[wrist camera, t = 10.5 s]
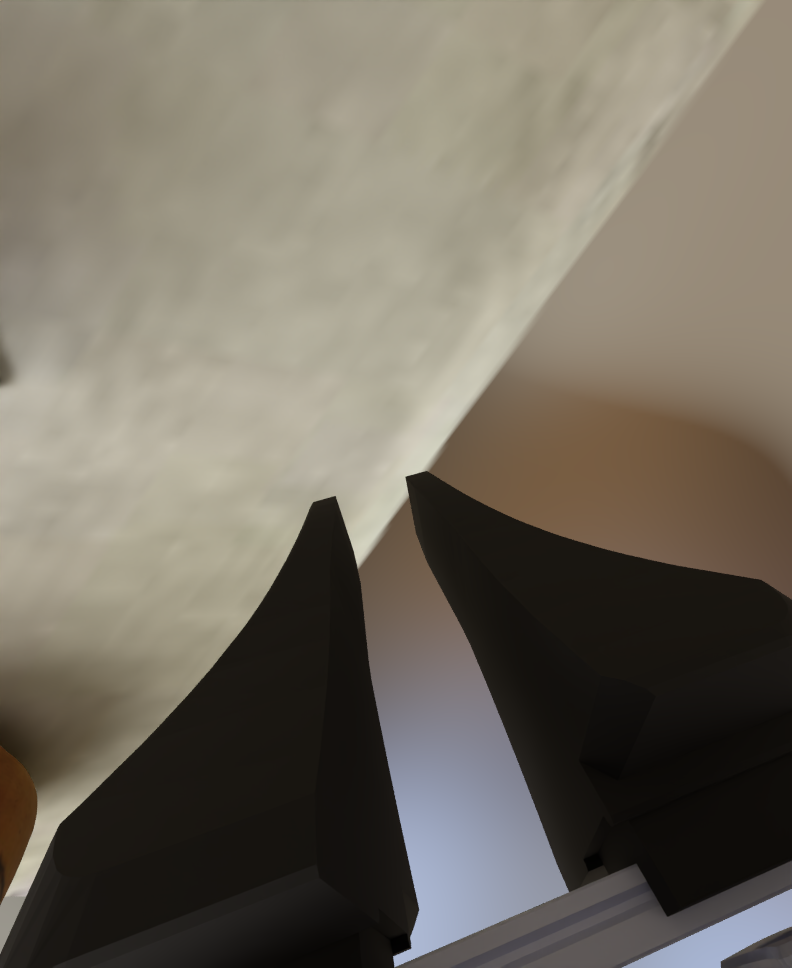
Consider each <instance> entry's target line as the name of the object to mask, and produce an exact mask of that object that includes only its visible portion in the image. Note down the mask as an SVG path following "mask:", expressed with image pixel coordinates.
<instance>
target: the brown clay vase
mask: <svg viewBox="0 0 792 968" xmlns="http://www.w3.org/2000/svg"><path fill="white" fill-rule="evenodd" d="M36 815H37V793H36V789H35V786H34V783H33V781H32V779H31V777H30V775H29V774H28V772H27V770H26V769H25V767H24V766H23V765H22V764H21V763H20V762H19V761H18V760H17V759H16V758H15V757H14V756H12V755H11V754H10V753H8V752H7V751H6V750H5V749H4V748H2V747H1V746H0V905H1V902H2V900H3V898H4V896H5V894H6V892H7V890H8V888H9V886H10V884H11V882H12V880H13V878H14V876H15V873H16V871H17V869H18V867H19V864H20V862H21V860H22V857H23V855H24V852H25V850H26V847H27V844H28V842H29V839H30V837H31V834H32V832H33V829H34V824H35V820H36Z"/></svg>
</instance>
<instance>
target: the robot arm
mask: <svg viewBox="0 0 792 968" xmlns="http://www.w3.org/2000/svg"><path fill="white" fill-rule="evenodd" d="M406 482H407V487H408V493H409V498H410V503H411V509H412V514H413V520H414V525H415V530H416V534H417V537H418V539H419V542H420V545H421V548H422V550H423V553H424V555H425V558H426V560H427V563H428V564H429V567H430V568H431V570H432V572H433V574H434V576H435V578H436V580H437V582H438V584H439V585H440V587H441V589H442V591H443V593H444V595H445V596H446V598H447V600H448V602H449V604H450V606H451V608H452V610H453V612H454V613H455V615H456V617H457V619H458V621H459V623H460V625H461V627H462V628H463V630H464V633H465V635H466V637H467V639H468V641H469V643H470V645H471V647H472V650H473V652H474V654H475V657H476V659H477V662H478V664H479V666H480V669H481V671H482V673H483V676H484V678H485V681H486V683H487V686H488V688H489V691H490V693H491V695H492V698H493V700H494V703H495V705H496V708H497V710H498V713H499V715H500V718H501V720H502V722H503V725H504V727H505V730H506V733H507V735H508V738H509V740H510V743H511V745H512V748H513V750H514V753H515V755H516V758H517V760H518V763H519V765H520V768H521V771H522V773H523V776H524V778H525V781H526V783H527V786H528V789H529V791H530V794H531V796H532V799H533V801H534V804H535V807H536V810H537V812H538V815H539V817H540V820H541V823H542V825H543V828H544V831H545V833H546V836H547V838H548V841H549V844H550V846H551V849H552V852H553V855H554V857H555V860H556V863H557V865H558V867H559V870H560V872H561V874H562V877H563V879H564V881H565V883H566V886H567V888H568V890H569V893H567V894H564V895H562V896H560V897H557V898H555V899H553V900H551V901H548V902H546V903H543V904H541V905H539V906H536V907H534V908H532V909H529V910H527V911H525V912H522V913H520V914H518V915H515V916H513V917H511V918H508V919H506V920H504V921H501V922H499V923H497V924H495V925H492V926H490V927H488V928H485V929H483V930H481V931H479V932H476V933H474V934H471V935H469V936H467V937H464V938H462V939H460V940H457V941H455V942H453V943H450V944H448V945H446V946H443V947H441V948H439V949H436V950H434V951H432V952H429V953H427V954H425V955H422V956H420V957H418V958H415V959H413V960H411V961H408V962H406V963H404V964H401V965H399V966H397V967H395V968H622V967H624V966H626V965H628V964H630V963H632V962H634V961H637V960H639V959H641V958H643V957H645V956H647V955H650V954H652V953H654V952H656V951H658V950H660V949H663V948H665V947H667V946H669V945H671V944H673V943H675V942H678V941H680V940H682V939H684V938H686V937H688V936H691V935H693V934H695V933H697V932H699V931H701V930H703V929H706V928H708V927H710V926H712V925H714V924H716V923H719V922H721V921H723V920H725V919H727V918H729V917H731V916H734V915H736V914H738V913H740V912H742V911H744V910H747V909H749V908H751V907H753V906H755V905H757V904H759V903H762V902H764V901H766V900H768V899H770V898H773V897H775V896H777V895H779V894H781V893H783V892H785V891H788V890H790V889H792V600H791V599H790V598H788V597H787V596H785V595H784V594H782V593H781V592H779V591H777V590H776V589H775V588H773V587H771V586H770V585H768V584H767V583H765V582H763V581H762V580H759V579H752V578H747V577H741V576H734V575H729V574H722V573H717V572H711V571H705V570H699V569H693V568H687V567H682V566H676V565H671V564H666V563H662V562H657V561H652V560H648V559H643V558H639V557H634V556H630V555H625V554H622V553H618V552H614V551H610V550H606V549H602V548H599V547H595V546H592V545H588V544H585V543H581V542H578V541H574V540H572V539H568V538H565V537H562V536H559V535H556V534H553V533H550V532H548V531H544V530H542V529H540V528H537V527H534V526H531V525H529V524H526V523H524V522H521V521H519V520H516V519H514V518H512V517H510V516H507V515H505V514H503V513H501V512H499V511H497V510H495V509H492V508H490V507H488V506H486V505H484V504H482V503H480V502H479V501H476V500H475V499H473V498H471V497H469V496H467V495H466V494H463V493H462V492H460V491H459V490H457V489H455V488H454V487H452V486H450V485H449V484H447V483H445V482H444V481H442V480H440V479H439V478H437V477H436V476H434V475H432V474H431V473H429V472H427V471H425V472H421V473H418V474H414V475H410V476H407V477H406ZM418 911H419V907H418V902H417V898H416V893H415V888H414V884H413V879H412V875H411V870H410V865H409V861H408V856H407V851H406V847H405V843H404V837H403V833H402V828H401V823H400V819H399V814H398V809H397V805H396V800H395V795H394V790H393V786H392V781H391V776H390V771H389V766H388V761H387V756H386V751H385V747H384V742H383V736H382V731H381V726H380V722H379V716H378V711H377V706H376V701H375V697H374V691H373V686H372V681H371V674H370V667H369V661H368V651H367V642H366V632H365V621H364V611H363V602H362V593H361V583H360V578H359V573H358V569H357V564H356V560H355V555H354V551H353V548H352V545H351V542H350V539H349V536H348V533H347V530H346V527H345V524H344V520H343V517H342V514H341V511H340V508H339V505H338V502H337V499H336V496H334V497H330V498H327V499H323V500H319V501H316V502H313V504H312V505H311V507H310V509H309V512H308V514H307V517H306V519H305V522H304V524H303V526H302V529H301V531H300V533H299V535H298V537H297V540H296V542H295V544H294V546H293V548H292V550H291V552H290V554H289V556H288V558H287V560H286V562H285V563H284V565H283V567H282V569H281V570H280V572H279V574H278V576H277V577H276V579H275V581H274V583H273V584H272V586H271V588H270V589H269V591H268V593H267V594H266V596H265V597H264V599H263V601H262V602H261V604H260V605H259V607H258V608H257V610H256V611H255V612H254V614H253V615H252V617H251V618H250V620H249V621H248V623H247V624H246V625H245V627H244V628H243V629H242V631H241V632H240V633H239V634H238V636H237V637H236V638H235V639H234V641H233V642H232V643H231V644H230V646H229V647H228V648H227V649H226V651H225V652H224V653H223V654H222V656H221V657H220V658H219V659H218V661H217V662H216V663H215V664H214V666H213V667H212V668H211V669H210V671H209V672H208V673H207V674H206V675H205V676H204V678H203V679H202V680H201V681H200V682H199V683H198V684H197V685H196V687H195V688H194V689H193V690H192V691H191V692H190V693H189V694H188V696H187V697H186V698H185V699H184V700H183V701H182V702H181V703H180V704H179V705H178V707H177V708H176V709H175V710H174V711H173V712H172V713H171V714H170V715H169V716H168V717H167V718H166V719H165V721H164V722H163V723H162V724H161V725H160V726H159V727H158V728H157V729H156V730H155V731H154V732H153V733H152V734H151V735H150V736H149V737H148V738H147V739H146V740H145V741H144V742H143V744H142V745H141V746H140V747H139V748H137V749H136V750H135V751H134V752H133V753H132V754H131V755H130V756H129V757H128V758H127V759H126V760H125V761H124V762H123V763H122V764H121V765H120V766H119V767H118V768H117V769H116V770H115V771H114V772H113V773H112V774H111V775H110V776H109V777H108V778H107V779H106V780H105V781H104V782H103V783H102V784H101V785H100V786H99V787H98V788H97V789H96V790H95V791H94V792H93V793H92V794H91V795H90V796H89V797H88V798H87V799H86V800H85V801H84V802H83V803H82V804H81V805H80V806H79V807H77V808H76V809H75V810H74V811H73V812H72V813H71V814H70V815H69V816H68V817H67V818H66V819H65V820H64V821H63V822H62V823H61V824H60V825H59V827H58V829H57V831H56V833H55V835H54V837H53V839H52V841H51V843H50V846H49V848H48V850H47V852H46V854H45V857H44V859H43V861H42V863H41V865H40V868H39V870H38V872H37V874H36V877H35V879H34V881H33V883H32V885H31V888H30V890H29V892H28V894H27V896H26V899H25V901H24V903H23V905H22V907H21V910H20V912H19V914H18V916H17V918H16V921H15V923H14V925H13V927H12V929H11V932H10V934H9V936H8V938H7V941H6V943H5V945H4V947H3V949H2V952H1V954H0V968H394V961H393V956H395V955H397V954H400V953H402V952H404V951H407V950H409V949H411V941H410V936H411V934H412V931H413V928H414V925H415V921H416V918H417V915H418ZM721 968H792V927H789V928H787V929H784V930H782V931H779V932H777V933H775V934H773V935H771V936H768V937H766V938H764V939H762V940H760V941H758V942H756V943H754V944H752V945H750V946H748V947H746V948H745V949H743V950H741V951H739V952H738V953H735V954H734V955H732V956H730V957H728V958H726V959H725V960H723V961H721Z"/></svg>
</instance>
